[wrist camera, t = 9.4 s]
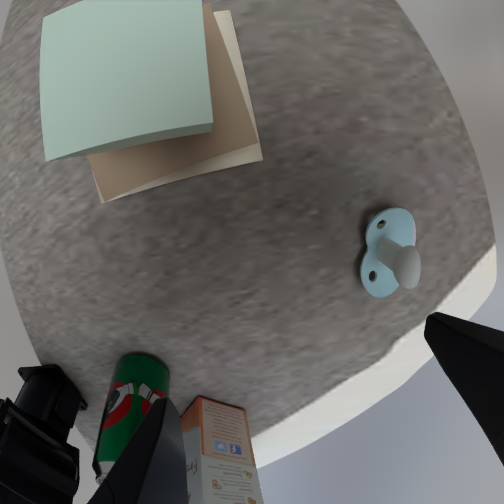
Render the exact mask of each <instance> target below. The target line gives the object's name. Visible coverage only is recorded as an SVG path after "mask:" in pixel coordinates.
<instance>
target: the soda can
mask: <svg viewBox="0 0 504 504" xmlns="http://www.w3.org/2000/svg"><path fill="white" fill-rule="evenodd" d="M169 387H170V376H169V373H168V371H167V370H166V368H165V367H164V366H163V365H162V364H161V363H160V362H158V361H157V360H155V359H153V358H151V357H148V356H145V355H130V356H127V357H124V358H122V359H121V360H119V361H118V363H117V364H116V367H115V370H114V374H113V377H112V381H111V384H110V388H109V392H108V396H107V399H106V403H105V407H104V411H103V416H102V420H101V424H100V428H99V433H98V438H97V442H96V447H95V452H94V458H93V463H92V467H93V470H94V471H95V473H96V482H97V484H99V486H100V485H101V483H102V482H103V480H104V479H105V478H106V476H107V474H108V472H109V471H110V469H111V468H112V466H113V465H114V463H115V461H116V460H117V458H118V457H119V455H120V454H121V452H122V451H123V449H124V447H125V446H126V444H127V443H128V441H129V440H130V438H131V436H132V435H133V433H134V432H135V430H136V429H137V427H138V426H139V424H140V422H141V421H142V419H143V418H144V416H145V415H146V413H147V411H148V410H149V408H150V407H151V405H152V404H153V402H154V401H155V400H156V399H157V398H163V397H168V398H169Z"/></svg>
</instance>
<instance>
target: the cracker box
mask: <svg viewBox="0 0 504 504" xmlns="http://www.w3.org/2000/svg"><path fill="white" fill-rule="evenodd" d="M180 421H181V428H182V435H183V441H184V448H185V454H186V468H187V488H188V503H189V504H264V503H263V498H262V493H261V489H260V484H259V479H258V474H257V469H256V464H255V459H254V454H253V449H252V444H251V438H250V433H249V428H248V422H247V418H246V412H245V410H242V409H238V408H235V407H231V406H228V405H224V404H221V403H218V402H214V401H211V400H208V399H205V398H202V397H197V399H196V400H195V401H194V402H193V404H192V405H191V406H190V407H189V409H188V410H187V411H186V412H185V413H184V415H183V416H182V417H181V418H180Z"/></svg>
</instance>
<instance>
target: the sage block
mask: <svg viewBox="0 0 504 504" xmlns="http://www.w3.org/2000/svg"><path fill="white" fill-rule="evenodd" d="M40 106H41V122H42V133H43V142H44V150H45V158H46V162H47V161H52V160H58V159H63V158H69V157H75V156H82V155H88V154H96V153H103V152H110V151H114V150H118V149H122V148H126V147H131V146H135V145H140V144H145V143H149V142H154V141H159V140H165V139H170V138H176V137H182V136H188V135H194V134H201V133H208V132H211V130H212V126H213V114H212V105H211V95H210V86H209V76H208V66H207V56H206V45H205V34H204V23H203V11H202V0H83V1H81V2H78V3H76V4H73V5H71V6H68V7H66V8H64V9H61V10H59V11H57V12H55V13H53V14H50V15H48V16H46V17H44V18H43V26H42V37H41V51H40Z"/></svg>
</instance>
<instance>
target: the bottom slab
mask: <svg viewBox="0 0 504 504" xmlns="http://www.w3.org/2000/svg"><path fill="white" fill-rule="evenodd" d="M213 13H214V16H215V19H216V21H217V24H218V27H219V29H220V32H221V35H222V37H223V40H224V43H225V46H226V48H227V51H228V54H229V57H230V59H231V62H232V65H233V68H234V71H235V74H236V76H237V79H238V82H239V85H240V88H241V91H242V94H243V97H244V100H245V103H246V106H247V109H248V112H249V115H250V118H251V121H252V124H253V127H254V130H255V133H256V136H257V139H258V142H259V137H258V132H257V128H256V123H255V118H254V113H253V109H252V104H251V100H250V95H249V90H248V86H247V81H246V77H245V73H244V68H243V64H242V60H241V55H240V51H239V47H238V42H237V38H236V34H235V30H234V26H233V22H232V18H231V14H230V10H225V11H219V12H213ZM262 160H263V157H262V152H261V147H260V142H259V143H257V144H253V145H250V146H247V147H244V148H241V149H238V150H235V151H231V152H228V153H225V154H223V155H220V156H217V157H214V158H211V159H208V160H205V161H202V162H200V163H197V164H194V165H192V166H189V167H186V168H184V169H181V170H178V171H176V172H173V173H171V174H168V175H166V176H163V177H161V178H158V179H156V180H153V181H151V182H148V183H146V184H144V185H141V186H139V187H137V188H134V189H132V190H130V191H128V192H125V193H123V194H121V195H119V196H117V197H114V198H112V199H110V200H108V201H111V200H114V199H117V198H121V197H124V196H127V195H130V194H133V193H136V192H140V191H143V190H146V189H149V188H153V187H156V186H160V185H163V184H167V183H170V182H174V181H177V180H181V179H185V178H189V177H192V176H196V175H200V174H204V173H208V172H212V171H216V170H221V169H225V168H229V167H234V166H238V165H243V164H247V163H252V162H257V161H262ZM92 173H93V171H92ZM93 177H94V174H93ZM94 180H95V184H96V188H97V191H98V195H99V198H100V201H101V204H103V203H105V202H104V200H103V197H102V195H101V192H100V190H99V187H98V185H97V182H96V179H95V177H94ZM108 201H106V202H108Z"/></svg>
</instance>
